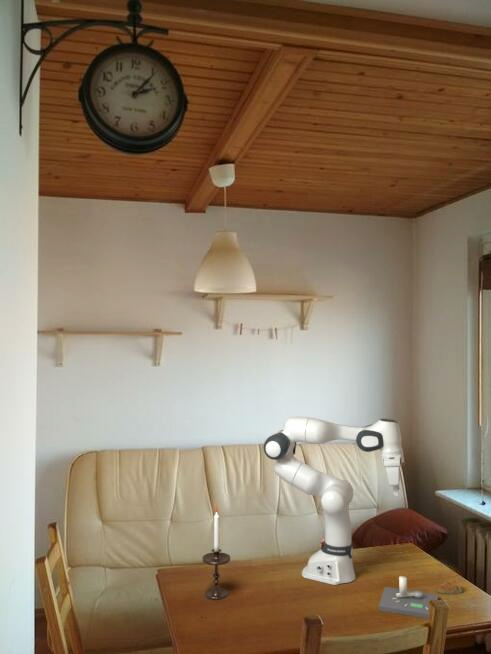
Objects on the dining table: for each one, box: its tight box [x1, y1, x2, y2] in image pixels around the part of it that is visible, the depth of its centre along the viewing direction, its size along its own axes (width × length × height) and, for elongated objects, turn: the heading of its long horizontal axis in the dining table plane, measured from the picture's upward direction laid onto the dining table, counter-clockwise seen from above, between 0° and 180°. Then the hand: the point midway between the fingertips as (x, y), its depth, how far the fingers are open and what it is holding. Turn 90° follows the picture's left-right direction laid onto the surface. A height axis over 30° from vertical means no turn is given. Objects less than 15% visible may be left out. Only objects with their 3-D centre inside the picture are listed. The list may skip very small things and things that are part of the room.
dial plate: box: [378, 586, 439, 620], centre depth 205 cm, size 20×18×2 cm
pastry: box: [436, 579, 462, 595], centre depth 217 cm, size 9×7×4 cm
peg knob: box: [396, 575, 424, 598], centre depth 208 cm, size 10×4×7 cm, turn 99°
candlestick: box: [202, 503, 231, 601], centre depth 214 cm, size 11×11×35 cm
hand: (396, 492), depth 222 cm, fingers open, 8 cm apart
